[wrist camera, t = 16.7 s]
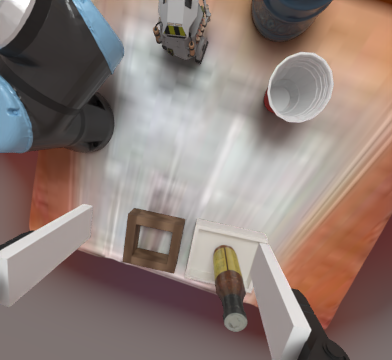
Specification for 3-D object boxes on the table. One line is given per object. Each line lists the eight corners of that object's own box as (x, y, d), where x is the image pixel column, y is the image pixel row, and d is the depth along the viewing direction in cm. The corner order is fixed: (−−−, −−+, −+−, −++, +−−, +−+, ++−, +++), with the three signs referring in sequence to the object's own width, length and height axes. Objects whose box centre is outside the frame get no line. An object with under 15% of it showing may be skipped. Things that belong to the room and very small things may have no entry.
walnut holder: (128, 252, 57) (122, 261, 53) (134, 208, 53) (128, 214, 49) (176, 263, 56) (173, 273, 52) (185, 219, 53) (183, 226, 49)
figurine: (218, 14, 41) (222, -50, 27) (198, 71, 44) (190, 41, 29) (178, -3, 41) (159, -77, 26) (160, 55, 44) (134, 18, 29)
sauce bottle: (213, 264, 54) (214, 337, 35) (212, 243, 53) (212, 308, 34) (237, 263, 54) (252, 338, 34) (237, 243, 52) (252, 308, 33)
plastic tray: (186, 269, 56) (184, 277, 53) (197, 218, 52) (196, 224, 49) (248, 283, 56) (251, 293, 52) (264, 232, 52) (268, 240, 48)
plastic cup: (291, 130, 45) (319, 130, 34) (246, 117, 45) (257, 112, 34) (311, 80, 43) (348, 61, 31) (263, 66, 43) (282, 42, 31)
